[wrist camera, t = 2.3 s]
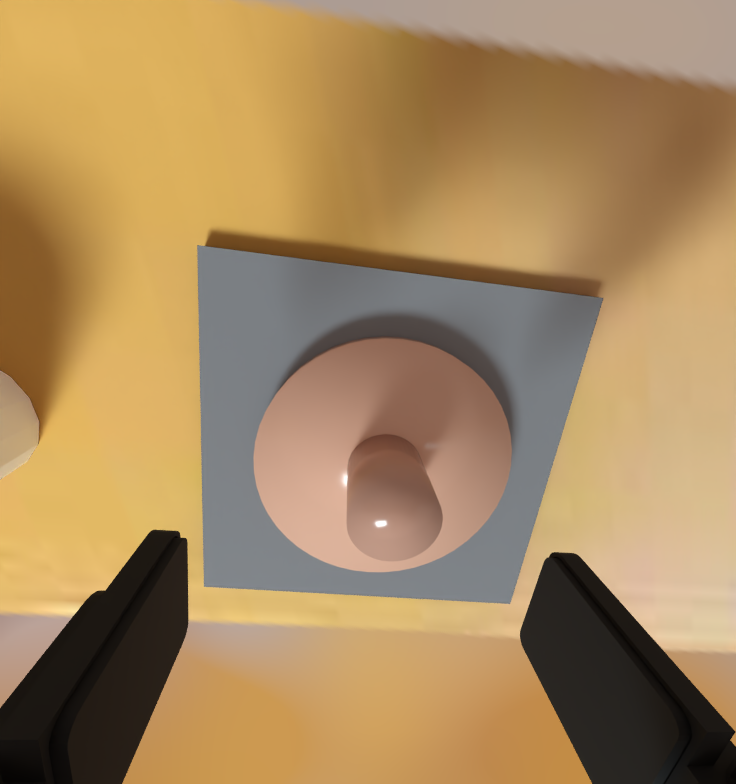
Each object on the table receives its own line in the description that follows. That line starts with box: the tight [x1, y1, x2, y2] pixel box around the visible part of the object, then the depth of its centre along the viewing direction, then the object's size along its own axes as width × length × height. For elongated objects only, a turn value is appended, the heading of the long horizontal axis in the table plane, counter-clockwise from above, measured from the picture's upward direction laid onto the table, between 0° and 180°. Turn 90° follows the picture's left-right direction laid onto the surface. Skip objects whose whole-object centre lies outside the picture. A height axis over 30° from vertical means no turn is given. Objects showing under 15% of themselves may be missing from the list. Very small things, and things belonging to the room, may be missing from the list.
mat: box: [197, 245, 603, 604], centre depth 16 cm, size 16×16×1 cm
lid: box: [253, 336, 512, 572], centre depth 14 cm, size 11×11×4 cm
